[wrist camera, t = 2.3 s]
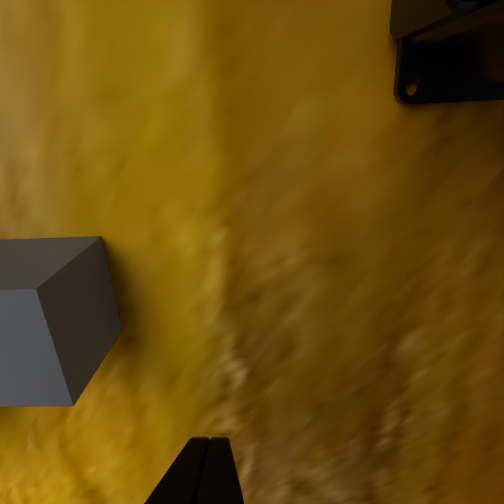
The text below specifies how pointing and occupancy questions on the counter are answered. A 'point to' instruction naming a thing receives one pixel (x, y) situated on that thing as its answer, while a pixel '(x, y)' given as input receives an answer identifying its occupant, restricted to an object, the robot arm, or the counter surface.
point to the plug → (53, 318)
